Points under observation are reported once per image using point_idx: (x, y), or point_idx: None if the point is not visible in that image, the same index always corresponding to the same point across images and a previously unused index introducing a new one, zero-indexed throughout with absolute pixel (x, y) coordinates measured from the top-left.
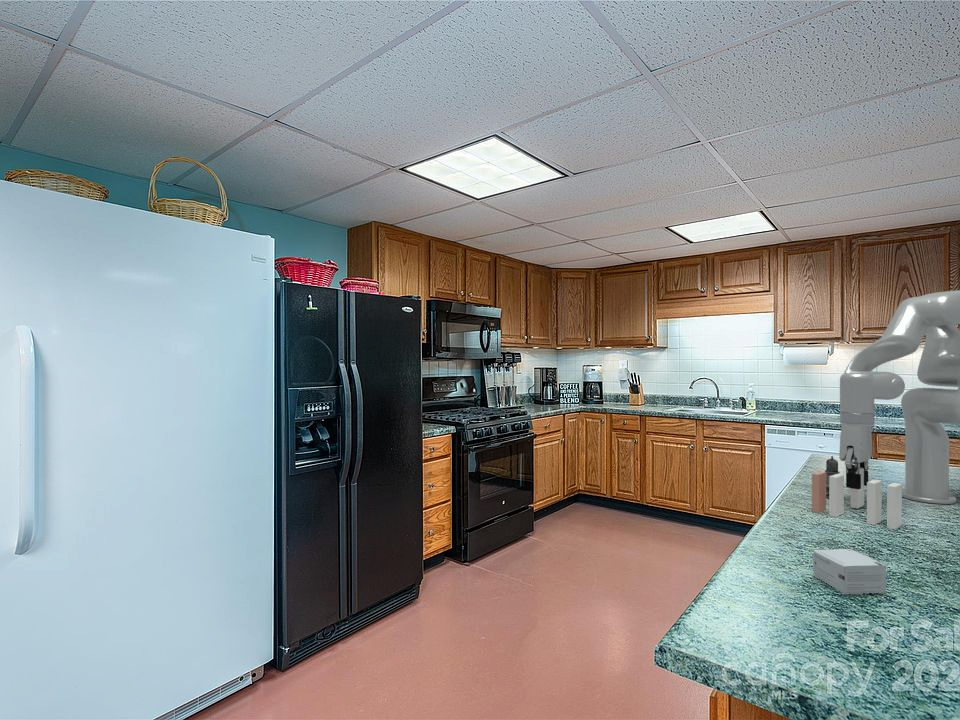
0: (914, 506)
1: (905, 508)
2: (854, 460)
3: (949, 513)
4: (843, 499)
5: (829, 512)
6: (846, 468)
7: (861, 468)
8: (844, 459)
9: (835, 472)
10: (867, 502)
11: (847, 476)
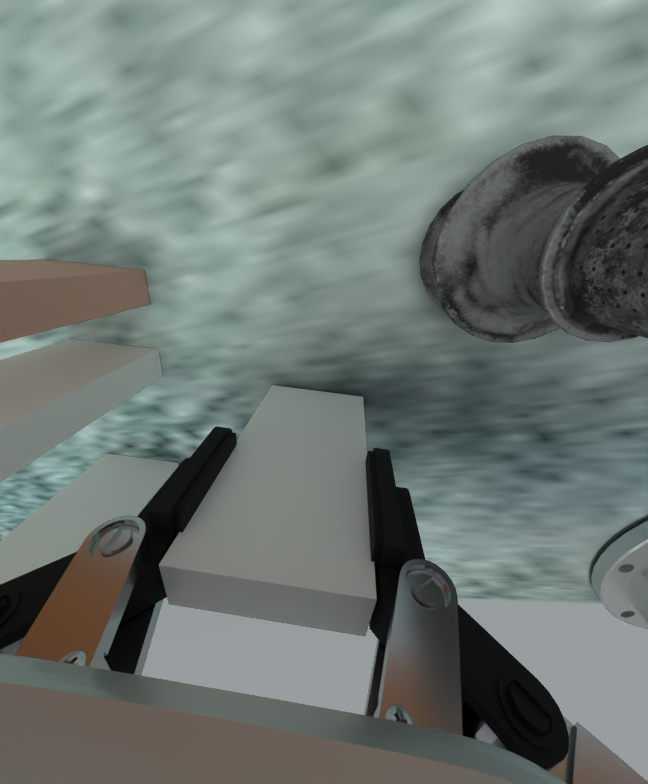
0: (503, 537)
1: (445, 519)
2: (382, 703)
3: (459, 595)
4: (110, 406)
5: (58, 343)
6: (73, 565)
7: (330, 623)
8: (111, 679)
9: (563, 309)
10: (30, 518)
11: (175, 488)
